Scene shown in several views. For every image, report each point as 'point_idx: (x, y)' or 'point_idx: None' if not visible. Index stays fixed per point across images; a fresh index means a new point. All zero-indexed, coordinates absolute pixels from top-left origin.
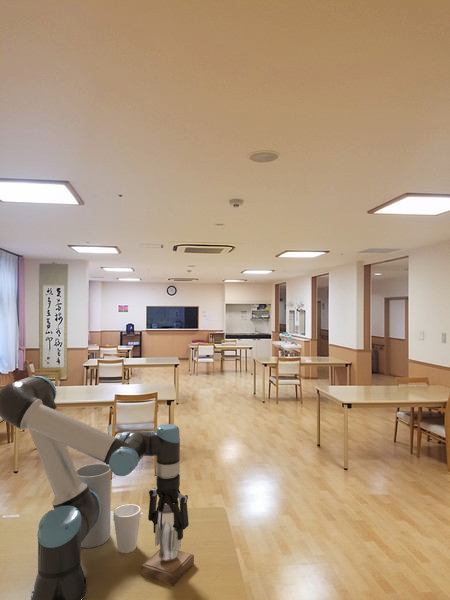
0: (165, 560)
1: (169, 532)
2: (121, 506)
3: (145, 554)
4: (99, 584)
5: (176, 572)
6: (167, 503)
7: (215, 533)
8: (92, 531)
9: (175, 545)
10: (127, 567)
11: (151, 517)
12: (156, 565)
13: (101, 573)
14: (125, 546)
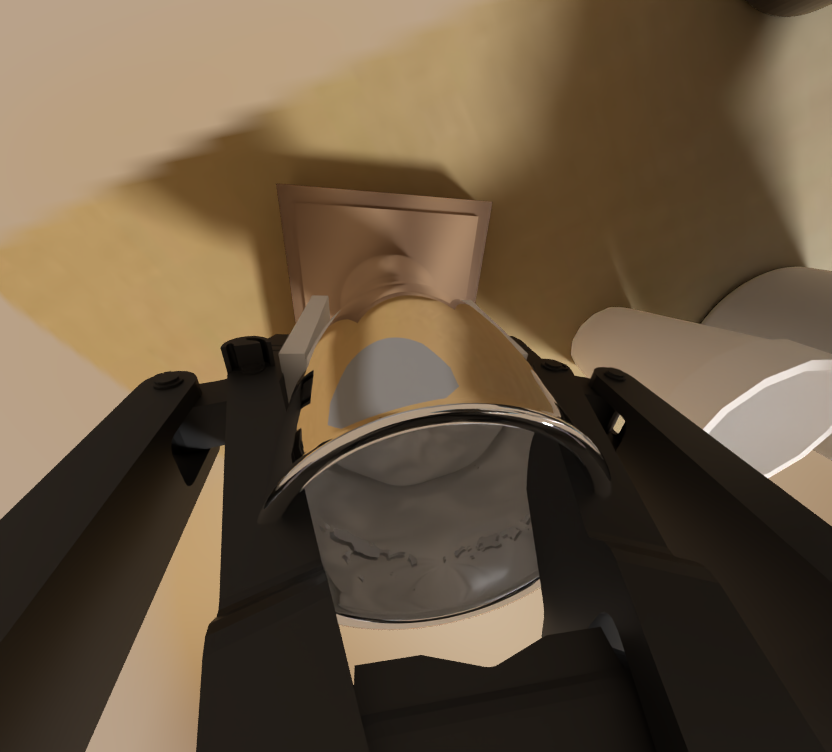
0: (375, 256)
1: (339, 312)
2: (800, 452)
3: (520, 334)
4: (653, 32)
5: (286, 222)
6: (461, 694)
7: None
8: (824, 301)
9: (314, 306)
10: (560, 228)
11: (608, 388)
12: (417, 229)
13: (664, 133)
14: (619, 317)
